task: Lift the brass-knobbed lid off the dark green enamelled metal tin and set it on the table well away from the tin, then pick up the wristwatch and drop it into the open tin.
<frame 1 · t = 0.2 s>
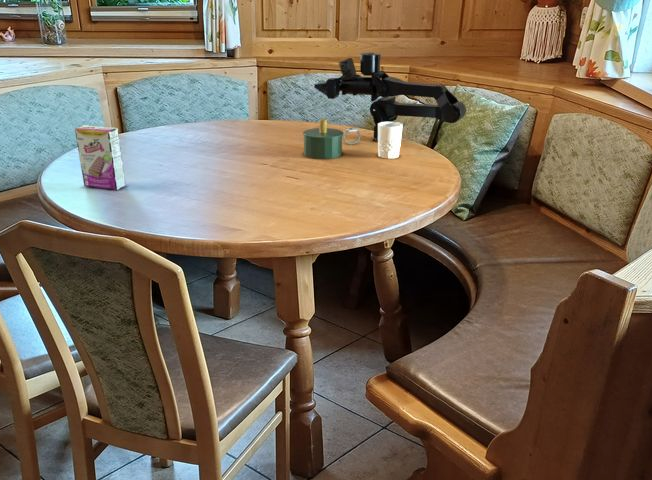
hand: (320, 83, 255), 17 cm above the table, tool horizontal, fingers open, 9 cm apart
white cup: (388, 156, 236), on the table
tin lid: (323, 134, 235), point 6 cm above the table, touching tin
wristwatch: (351, 144, 250), on the table
tin: (322, 154, 238), on the table
candy bar box: (105, 187, 209), on the table
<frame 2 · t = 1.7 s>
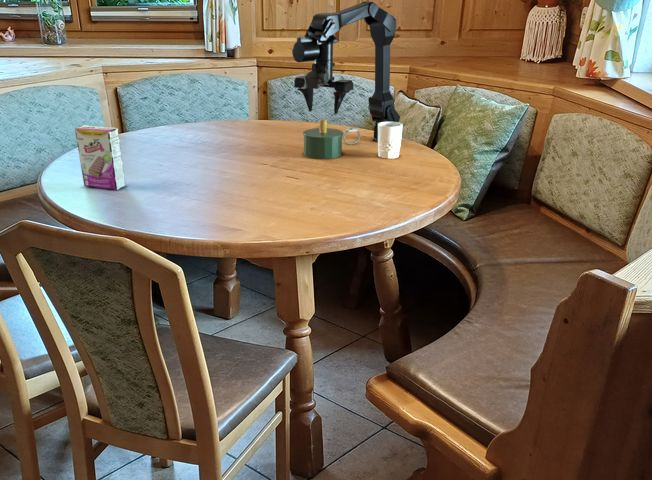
hand: (322, 112, 231), 13 cm above the table, tool pointing down, fingers open, 9 cm apart
nothing on the table moved.
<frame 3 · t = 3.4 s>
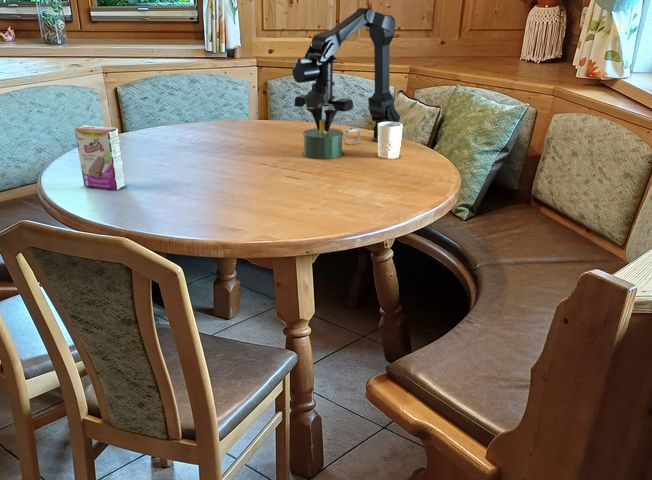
hand: (323, 130, 234), 7 cm above the table, tool pointing down, fingers closed on tin lid, 2 cm apart
tin lid: (323, 134, 235), point 6 cm above the table, touching gripper, tin
everything else where it was.
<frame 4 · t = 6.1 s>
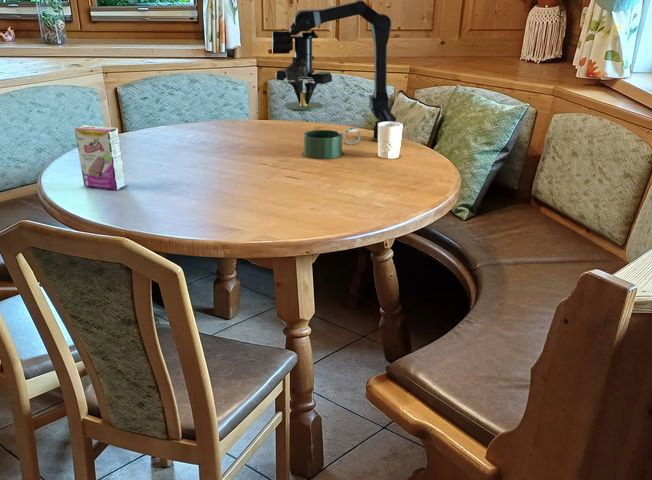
hand: (303, 103, 245), 13 cm above the table, tool pointing down, fingers closed on tin lid, 2 cm apart
tin lid: (303, 106, 245), point 12 cm above the table, touching gripper
everything else where it was.
when the fingers open (2 cm above the table, at t = 9.1 s): tin lid stays where it is, point 1 cm above the table.
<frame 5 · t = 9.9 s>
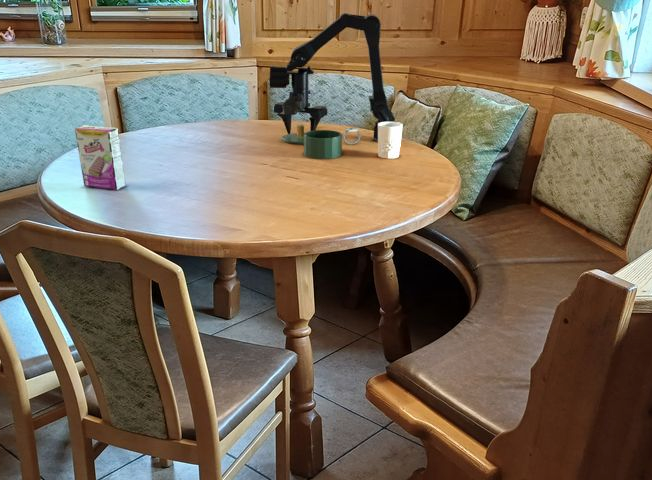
hand: (300, 135, 254), 2 cm above the table, tool pointing down, fingers open, 9 cm apart
tin lid: (300, 138, 254), point 1 cm above the table
everything else where it was.
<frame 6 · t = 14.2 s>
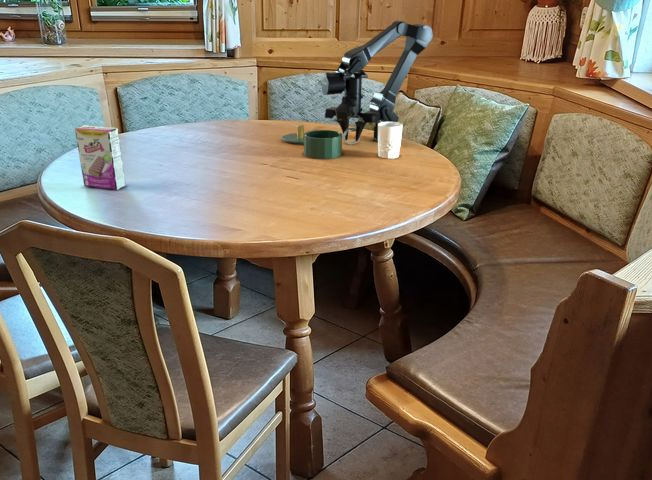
hand: (351, 140, 249), 1 cm above the table, tool pointing down, fingers closed on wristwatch, 4 cm apart
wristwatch: (351, 144, 250), on the table, touching gripper
everything else where it was.
when the fingers open (7 cm above the table, at t = 18.6 s): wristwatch drops 5 cm, resting on tin.
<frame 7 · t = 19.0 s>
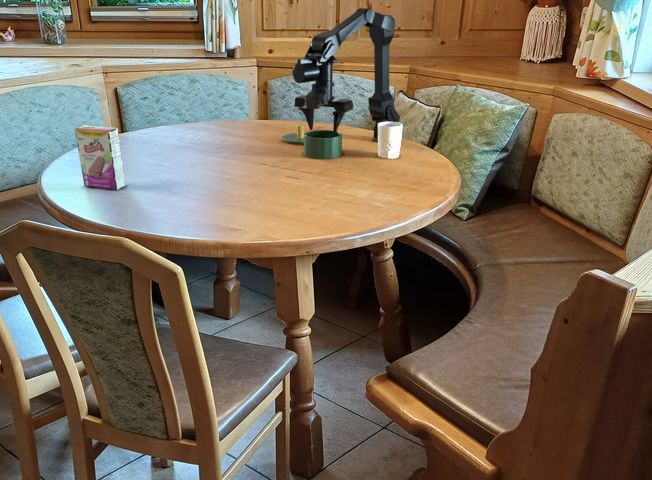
hand: (323, 131, 234), 7 cm above the table, tool pointing down, fingers open, 8 cm apart
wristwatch: (322, 151, 238), point 1 cm above the table, touching tin
everything else where it was.
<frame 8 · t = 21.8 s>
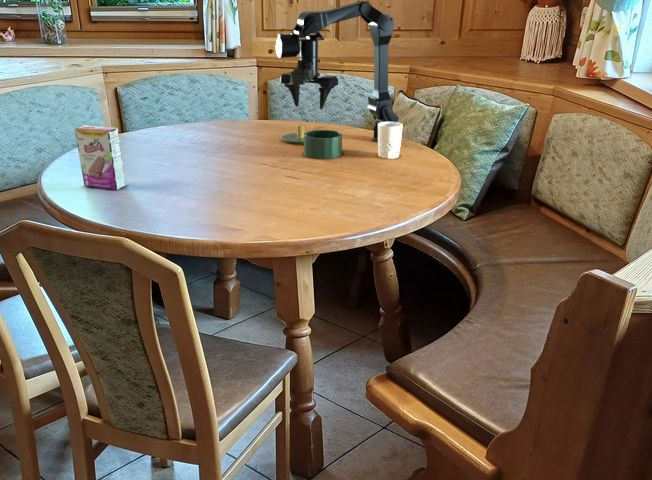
hand: (309, 107, 238), 13 cm above the table, tool pointing down, fingers open, 9 cm apart
nothing on the table moved.
at the end: tin lid inside the target area (0.1 cm from its centre), point 0.6 cm above the table; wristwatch inside the target area in the tin (0.1 cm from its centre), point 0.9 cm above the tin's base; the gripper is holding nothing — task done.
